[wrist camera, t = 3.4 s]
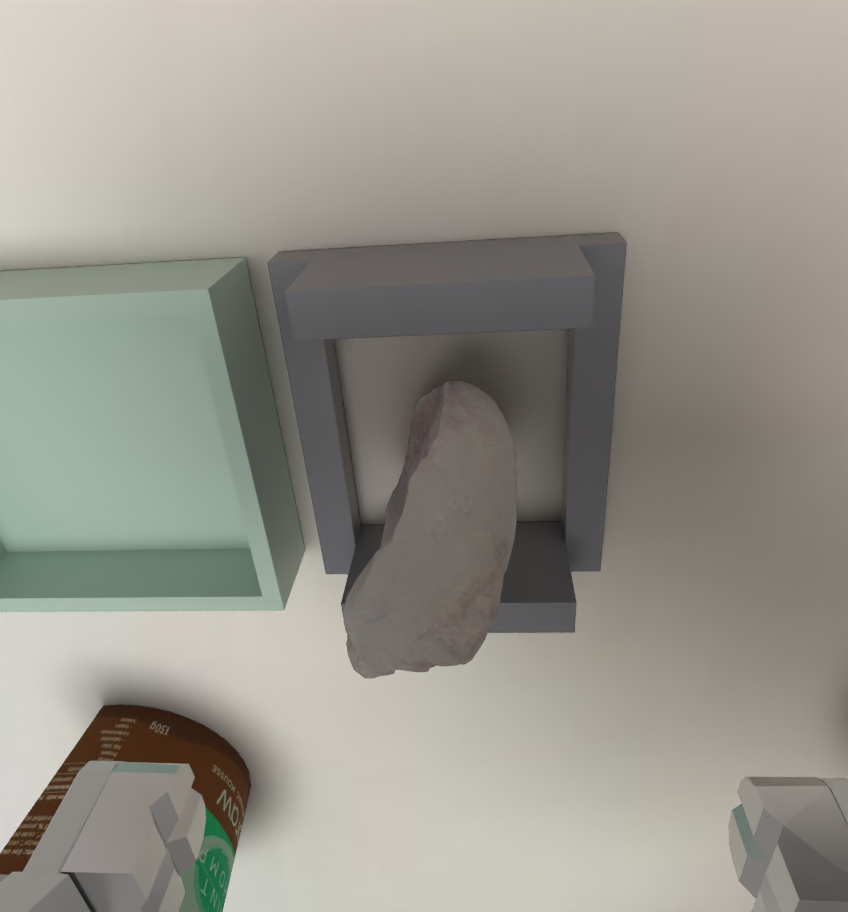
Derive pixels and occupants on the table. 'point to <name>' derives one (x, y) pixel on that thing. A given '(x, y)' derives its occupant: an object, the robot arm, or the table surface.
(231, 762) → the food container
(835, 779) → the robot arm
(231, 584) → the tray
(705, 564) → the table surface
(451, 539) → the grey rounded lump
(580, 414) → the holder
